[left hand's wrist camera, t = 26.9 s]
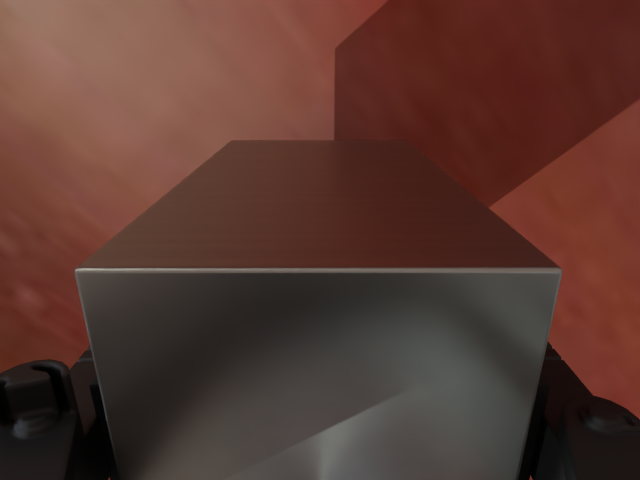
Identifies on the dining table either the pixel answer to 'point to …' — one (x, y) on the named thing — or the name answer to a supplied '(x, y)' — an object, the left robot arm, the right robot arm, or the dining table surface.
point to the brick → (318, 321)
